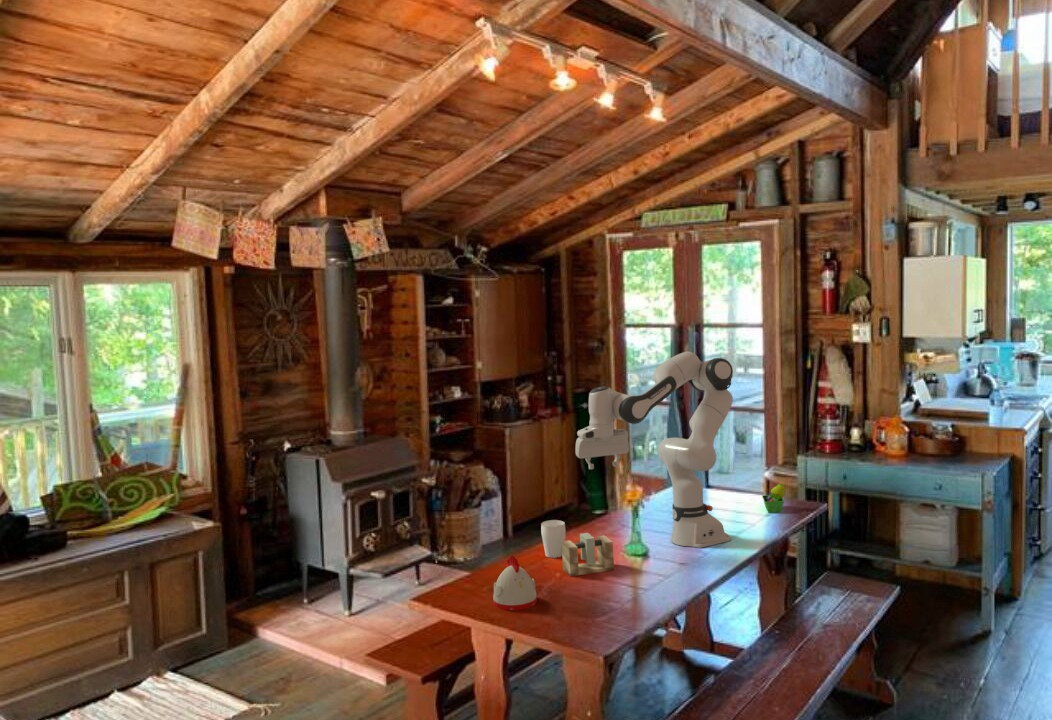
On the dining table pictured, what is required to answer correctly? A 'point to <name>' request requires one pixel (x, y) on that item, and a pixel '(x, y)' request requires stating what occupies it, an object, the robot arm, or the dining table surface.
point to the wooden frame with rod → (574, 568)
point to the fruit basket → (775, 499)
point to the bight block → (588, 548)
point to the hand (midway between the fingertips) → (603, 467)
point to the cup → (553, 537)
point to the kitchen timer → (514, 588)
